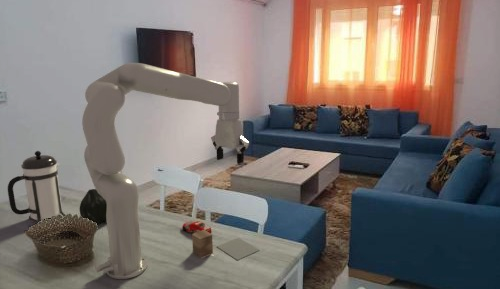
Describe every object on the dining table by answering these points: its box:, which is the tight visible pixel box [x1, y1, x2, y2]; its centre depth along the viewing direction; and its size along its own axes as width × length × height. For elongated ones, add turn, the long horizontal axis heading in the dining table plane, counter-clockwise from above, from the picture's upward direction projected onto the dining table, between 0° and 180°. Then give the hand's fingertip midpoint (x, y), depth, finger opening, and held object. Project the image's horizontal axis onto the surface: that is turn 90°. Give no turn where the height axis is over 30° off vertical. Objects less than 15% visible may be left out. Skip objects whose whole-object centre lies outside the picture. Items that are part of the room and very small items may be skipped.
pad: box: [216, 237, 260, 261], centre depth 131 cm, size 10×12×1 cm
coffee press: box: [7, 150, 66, 224], centre depth 153 cm, size 17×16×30 cm
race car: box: [182, 220, 212, 234], centre depth 144 cm, size 13×5×4 cm, turn 53°
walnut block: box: [191, 230, 214, 259], centre depth 128 cm, size 5×5×7 cm
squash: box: [79, 188, 107, 225], centre depth 155 cm, size 14×15×15 cm
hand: (230, 161), depth 138 cm, fingers open, 9 cm apart
